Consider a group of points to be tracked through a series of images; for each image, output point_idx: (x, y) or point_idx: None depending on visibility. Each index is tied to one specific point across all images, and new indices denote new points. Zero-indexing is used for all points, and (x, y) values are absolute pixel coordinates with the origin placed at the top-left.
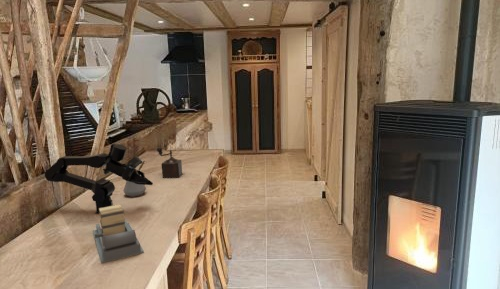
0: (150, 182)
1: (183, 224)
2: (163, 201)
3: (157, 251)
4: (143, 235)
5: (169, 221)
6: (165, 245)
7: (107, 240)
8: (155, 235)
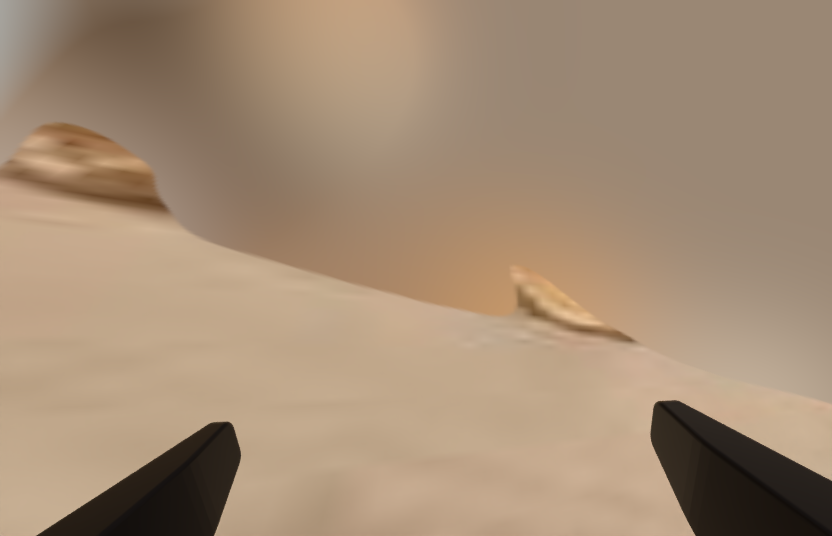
0: (207, 468)
1: (559, 317)
2: (16, 466)
3: (819, 422)
4: None
5: (532, 384)
6: (764, 393)
7: None
8: None
